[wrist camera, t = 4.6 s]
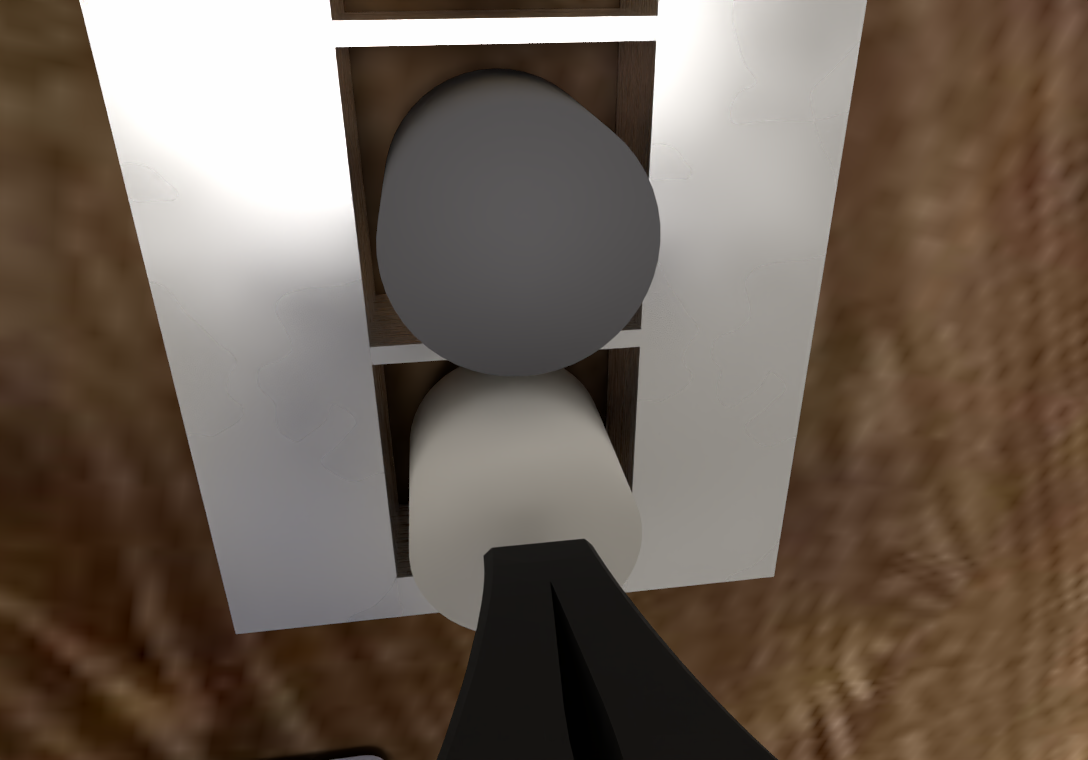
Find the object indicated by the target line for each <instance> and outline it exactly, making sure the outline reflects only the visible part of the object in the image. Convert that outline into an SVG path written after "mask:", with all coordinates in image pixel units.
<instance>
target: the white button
mask: <svg viewBox="0 0 1088 760" xmlns="http://www.w3.org/2000/svg"><path fill="white" fill-rule="evenodd" d="M574 539H586V540H587V541H588V542H589V543H590V544H592V545H593V547H594V548H595V550H596V552H597V553H598V555H599V556H600V558H601V559H602V561H603V562H604V564H605V565H606V567H607V568H608V570H609V571H610V572H611V574H612V575H613V577H614V578H615V579H616V581H617V582H618V584H619V585H620V586H621V587H622V586H623V585H624V583H625V582H626V580H627V579H628V577H629V576H630V574H631V572H632V570H633V568H634V566H635V564H636V562H637V559H638V555H639V552H640V548H641V541H642V523H641V518H640V513H639V510H638V507H637V504H636V502H635V499H634V497H633V494H632V492H631V490H630V487H629V485H628V482H627V480H626V478H625V475H624V473H623V470H622V468H621V465H620V463H619V461H618V458H617V456H616V453H615V451H614V449H613V446H612V444H611V441H610V439H609V436H608V434H607V432H606V429H605V427H604V424H603V422H602V420H601V417H600V415H599V412H598V410H597V408H596V405H595V403H594V401H593V399H592V397H591V395H590V393H589V392H588V390H587V389H586V388H585V387H584V385H583V384H582V383H581V382H580V381H579V380H578V379H577V378H576V377H575V376H574V375H573V374H571V373H570V372H568V371H567V370H566V369H564V368H562V369H559V370H556V371H552V372H548V373H544V374H538V375H531V376H511V377H507V376H497V375H489V374H485V373H480V372H476V371H472V370H469V369H467V368H464V367H461V366H460V367H458V368H456V369H454V370H453V371H451V372H450V373H448V374H447V375H446V376H444V377H443V378H442V379H441V380H439V381H438V382H437V383H436V384H435V385H434V386H433V387H432V388H431V389H430V391H429V392H428V393H427V394H426V395H425V397H424V398H423V400H422V402H421V403H420V405H419V407H418V409H417V411H416V413H415V415H414V419H413V422H412V426H411V432H410V470H409V562H410V567H411V572H412V575H413V577H414V580H415V583H416V585H417V586H418V588H419V590H420V592H421V593H422V595H423V596H424V597H425V599H426V600H427V601H428V602H429V604H431V605H432V606H433V607H434V608H435V609H436V610H437V611H438V612H439V613H441V614H442V615H444V616H445V617H446V618H448V619H449V620H451V621H453V622H455V623H457V624H459V625H461V626H463V627H466V628H469V629H471V630H474V631H476V629H477V625H478V619H479V613H480V608H481V602H482V595H483V586H484V557H483V555H484V554H486V553H487V552H488V551H489V550H490V549H491V548H492V547H503V546H513V545H523V544H533V543H544V542H554V541H564V540H574Z"/></svg>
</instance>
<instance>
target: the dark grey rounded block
mask: <svg viewBox="0 0 1088 760" xmlns="http://www.w3.org/2000/svg"><path fill="white" fill-rule="evenodd" d="M376 247H377V260H378V266H379V272H380V276H381V279H382V282H383V285H384V289H385V292H386V294H387V296H388V298H389V300H390V302H391V304H392V306H393V308H394V310H395V311H396V313H397V314H398V316H399V317H400V319H401V320H402V322H403V323H404V324H405V326H406V327H407V328H408V329H409V330H410V331H411V333H412V334H413V335H414V336H415V337H416V338H417V339H418V340H420V341H421V342H422V343H423V344H424V345H425V346H426V347H427V348H429V349H430V350H432V351H433V352H435V353H436V354H438V355H439V356H441V357H442V358H444V359H446V360H448V361H450V362H452V363H454V364H456V365H458V366H461V367H464V368H467V369H469V370H472V371H476V372H480V373H485V374H489V375H497V376H507V377H511V376H531V375H538V374H544V373H548V372H552V371H556V370H559V369H562V368H564V367H567V366H570V365H572V364H575V363H577V362H579V361H581V360H583V359H584V358H586V357H588V356H590V355H592V354H593V353H595V352H596V351H598V350H599V349H601V348H602V347H603V346H605V345H606V344H607V343H608V342H609V341H611V340H612V339H613V338H614V337H615V336H616V335H617V334H618V333H619V332H620V331H621V330H622V329H623V328H624V327H625V326H626V325H627V324H628V322H629V321H630V320H631V318H632V317H633V316H634V314H635V313H636V311H637V310H638V309H639V307H640V305H641V303H642V302H643V300H644V298H645V296H646V294H647V292H648V290H649V287H650V285H651V282H652V280H653V277H654V274H655V270H656V266H657V262H658V258H659V250H660V218H659V211H658V205H657V201H656V198H655V194H654V191H653V188H652V186H651V183H650V181H649V179H648V176H647V174H646V172H645V170H644V169H643V167H642V165H641V164H640V162H639V161H638V159H637V157H636V156H635V155H634V153H633V152H632V151H631V150H630V149H629V147H628V146H627V145H626V144H625V143H624V142H623V141H622V140H621V139H620V138H619V137H618V136H617V135H616V134H615V133H614V132H612V131H611V130H610V129H609V128H608V127H607V126H605V125H604V124H603V123H602V122H601V121H599V120H598V119H597V118H596V117H595V116H593V115H592V114H591V113H590V112H589V111H587V110H586V109H585V108H584V107H583V106H581V105H580V104H579V103H578V102H577V101H575V100H574V99H573V98H572V97H571V96H569V95H568V94H567V93H566V92H564V91H563V90H561V89H560V88H559V87H557V86H556V85H554V84H553V83H551V82H549V81H547V80H545V79H543V78H541V77H538V76H535V75H532V74H529V73H526V72H522V71H516V70H511V69H485V70H477V71H473V72H469V73H464V74H462V75H459V76H456V77H454V78H451V79H449V80H447V81H445V82H443V83H442V84H440V85H438V86H436V87H435V88H433V89H432V90H431V91H430V92H428V93H427V94H426V95H424V96H423V97H422V98H421V99H420V100H419V101H418V102H417V103H416V104H415V105H414V106H413V107H412V108H411V110H410V111H409V112H408V114H407V115H406V116H405V118H404V119H403V120H402V122H401V124H400V126H399V127H398V129H397V131H396V133H395V135H394V138H393V140H392V143H391V145H390V148H389V152H388V156H387V160H386V166H385V173H384V180H383V188H382V195H381V202H380V209H379V217H378V225H377V235H376Z"/></svg>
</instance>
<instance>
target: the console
mask: <svg viewBox="0 0 1088 760" xmlns="http://www.w3.org/2000/svg"><path fill="white" fill-rule="evenodd" d="M866 3H867V0H620V8H588V9H519V10H449V11H379V12H345V10H344V1H343V0H80V4H81V8H82V12H83V16H84V20H85V24H86V28H87V32H88V36H89V40H90V45H91V49H92V53H93V57H94V61H95V65H96V69H97V73H98V77H99V81H100V85H101V89H102V93H103V97H104V101H105V105H106V109H107V114H108V118H109V122H110V126H111V130H112V134H113V138H114V142H115V146H116V150H117V154H118V158H119V162H120V166H121V170H122V174H123V178H124V182H125V187H126V191H127V195H128V199H129V203H130V207H131V211H132V215H133V219H134V223H135V227H136V231H137V235H138V239H139V243H140V247H141V251H142V255H143V260H144V264H145V268H146V272H147V276H148V280H149V284H150V288H151V292H152V296H153V300H154V304H155V308H156V312H157V316H158V320H159V324H160V328H161V333H162V337H163V341H164V345H165V349H166V353H167V357H168V361H169V365H170V369H171V373H172V377H173V381H174V385H175V389H176V393H177V397H178V401H179V406H180V410H181V414H182V418H183V422H184V426H185V430H186V434H187V438H188V442H189V446H190V450H191V454H192V458H193V462H194V466H195V470H196V475H197V479H198V483H199V487H200V491H201V495H202V499H203V503H204V507H205V511H206V515H207V519H208V523H209V527H210V531H211V535H212V539H213V543H214V548H215V552H216V556H217V560H218V564H219V568H220V572H221V576H222V580H223V584H224V588H225V592H226V596H227V600H228V604H229V608H230V612H231V616H232V621H233V625H234V629H235V633H236V634H242V633H251V632H260V631H270V630H279V629H288V628H298V627H307V626H316V625H326V624H335V623H344V622H354V621H363V620H372V619H382V618H391V617H401V616H410V615H419V614H429V613H438V611H437V610H436V609H435V608H434V607H433V606H432V605H431V604H429V602H428V601H427V600H426V599H425V597H424V596H423V595H422V593H421V592H420V590H419V588H418V586H417V585H416V583H415V580H414V577H413V575H412V572H411V567H410V562H409V504H399V502H398V493H397V484H396V475H395V466H394V457H393V448H392V438H391V429H390V420H389V411H388V402H387V393H386V384H385V375H384V366H383V364H393V363H408V362H423V361H437V360H446V359H444V358H442V357H441V356H439V355H438V354H436V353H435V352H433V351H432V350H430V349H429V348H427V347H426V346H425V345H424V344H423V343H422V342H421V341H420V340H418V339H417V338H416V337H415V336H414V335H413V334H412V333H411V331H410V330H409V329H408V328H407V327H406V326H405V324H404V323H403V322H402V320H401V319H400V317H399V316H398V314H397V313H396V311H395V310H394V308H393V306H392V304H391V302H390V300H389V298H388V296H387V294H376V293H375V284H374V274H373V265H372V256H371V247H370V238H369V229H368V220H367V211H366V202H365V193H364V183H363V174H362V165H361V156H360V147H359V138H358V129H357V120H356V111H355V101H354V92H353V83H352V74H351V65H350V56H349V47H353V46H404V45H455V44H507V43H558V42H609V41H619V50H618V80H617V110H616V135H617V136H618V137H619V138H620V139H621V140H622V141H623V142H624V143H625V144H626V145H627V146H628V147H629V149H630V150H631V151H632V152H633V153H634V155H635V156H636V157H637V159H638V161H639V162H640V164H641V165H642V167H643V169H644V170H645V172H646V174H647V176H648V179H649V181H650V183H651V186H652V188H653V191H654V194H655V198H656V201H657V205H658V211H659V218H660V250H659V258H658V262H657V266H656V270H655V274H654V277H653V280H652V282H651V285H650V287H649V290H648V292H647V294H646V296H645V298H644V300H643V302H642V303H641V305H640V307H639V309H638V310H637V311H636V313H635V314H634V316H633V317H632V318H631V320H630V321H629V322H628V324H627V325H626V326H625V327H624V328H623V329H622V330H621V331H620V332H619V333H618V334H617V335H616V336H615V337H614V338H613V339H612V340H611V341H609V342H608V343H607V344H606V345H605V346H603V347H602V348H601V349H608V378H607V407H606V432H607V434H608V436H609V439H610V441H611V444H612V446H613V449H614V451H615V453H616V456H617V458H618V461H619V463H620V465H621V468H622V470H623V473H624V475H625V478H626V480H627V482H628V485H629V487H630V490H631V492H632V494H633V497H634V499H635V502H636V504H637V507H638V510H639V513H640V518H641V523H642V541H641V548H640V552H639V555H638V559H637V562H636V564H635V566H634V568H633V570H632V572H631V574H630V576H629V577H628V579H627V580H626V582H625V583H624V585H623V586H622V587H621V588H622V589H623V590H624V592H634V591H644V590H653V589H662V588H672V587H681V586H690V585H700V584H709V583H719V582H728V581H737V580H747V579H756V578H765V577H774V572H775V566H776V560H777V554H778V548H779V541H780V535H781V529H782V523H783V517H784V510H785V504H786V498H787V492H788V486H789V479H790V473H791V467H792V461H793V455H794V449H795V442H796V436H797V430H798V424H799V418H800V411H801V405H802V399H803V393H804V387H805V380H806V374H807V368H808V362H809V356H810V349H811V343H812V337H813V331H814V325H815V318H816V312H817V306H818V300H819V294H820V287H821V281H822V275H823V269H824V263H825V257H826V250H827V244H828V238H829V232H830V226H831V219H832V213H833V207H834V201H835V195H836V188H837V182H838V176H839V170H840V164H841V157H842V151H843V145H844V139H845V133H846V126H847V120H848V114H849V108H850V102H851V96H852V89H853V83H854V77H855V71H856V65H857V58H858V52H859V46H860V40H861V34H862V27H863V21H864V15H865V9H866Z"/></svg>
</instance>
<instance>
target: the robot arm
mask: <svg viewBox="0 0 1088 760" xmlns="http://www.w3.org/2000/svg"><path fill="white" fill-rule="evenodd" d="M483 557H484V586H483V595H482V602H481V608H480V613H479V619H478V625H477V629H476V633H475V637H474V641H473V645H472V649H471V653H470V658H469V662H468V666H467V670H466V673H465V677H464V680H463V684H462V687H461V690H460V693H459V696H458V699H457V702H456V705H455V709H454V712H453V715H452V718H451V721H450V724H449V727H448V730H447V733H446V736H445V739H444V742H443V745H442V747H441V750H440V753H439V755H438V758H437V760H778V759H777V758H775V757H774V756H773V755H772V754H771V753H770V752H769V751H768V750H767V749H766V748H765V747H763V746H762V745H761V744H760V743H759V742H758V741H757V740H756V739H755V738H754V737H753V736H752V735H751V734H750V733H749V732H748V731H747V730H746V729H745V728H744V727H743V726H742V725H741V724H740V723H739V722H738V721H737V720H736V719H735V718H734V717H733V716H732V715H731V714H730V713H729V712H728V711H727V710H726V709H725V708H724V707H723V706H722V705H721V704H720V703H719V702H718V701H717V700H716V699H715V698H714V697H713V696H712V695H711V694H710V692H709V691H708V690H707V689H706V688H705V687H704V686H703V685H702V684H701V683H700V682H699V681H698V680H697V679H696V678H695V676H694V675H693V674H692V673H691V672H690V671H689V670H688V669H687V667H686V666H685V665H684V664H683V663H682V662H681V661H680V660H679V658H678V657H677V656H676V655H675V654H674V653H673V651H672V650H671V649H670V648H669V647H668V645H667V644H666V643H665V642H664V641H663V639H662V638H661V637H660V636H659V635H658V634H657V632H656V631H655V630H654V629H653V628H652V626H651V625H650V624H649V623H648V621H647V620H646V619H645V618H644V616H643V615H642V614H641V613H640V611H639V610H638V609H637V608H636V606H635V605H634V604H633V602H632V601H631V600H630V598H629V597H628V596H627V594H626V593H625V592H624V590H623V589H622V588H621V586H620V585H619V584H618V582H617V581H616V579H615V578H614V577H613V575H612V574H611V572H610V571H609V570H608V568H607V567H606V565H605V564H604V562H603V561H602V559H601V558H600V556H599V555H598V553H597V552H596V550H595V548H594V547H593V545H592V544H590V543H589V542H588V541H587V540H586V539H574V540H564V541H554V542H544V543H533V544H523V545H513V546H503V547H492V548H491V549H490V550H489V551H488V552H487V553H486V554H484V555H483ZM331 760H383V759H382V758H380V757H377V756H374V755H362V756H354V757H347V758H339V759H331Z"/></svg>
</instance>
